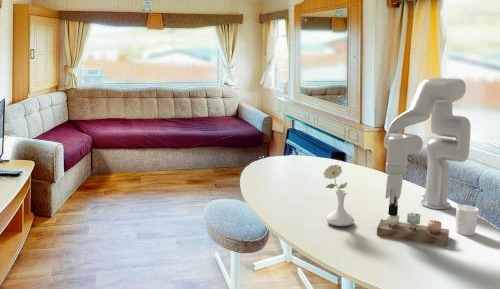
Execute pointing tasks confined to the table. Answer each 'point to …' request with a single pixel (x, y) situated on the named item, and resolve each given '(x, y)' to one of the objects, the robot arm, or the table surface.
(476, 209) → the white cup
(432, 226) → the plunger
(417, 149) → the robot arm
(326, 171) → the flower in vase
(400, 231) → the button board
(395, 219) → the plunger
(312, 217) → the table surface
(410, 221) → the plunger
